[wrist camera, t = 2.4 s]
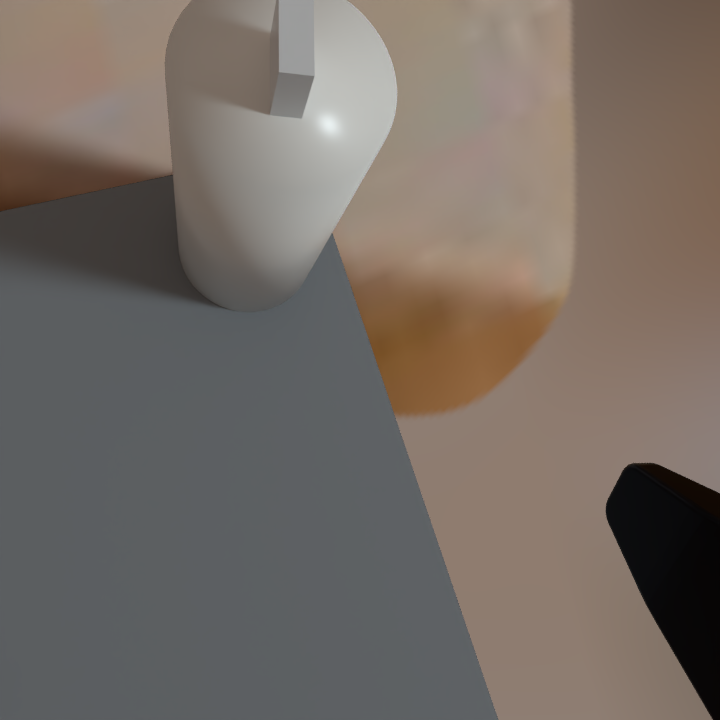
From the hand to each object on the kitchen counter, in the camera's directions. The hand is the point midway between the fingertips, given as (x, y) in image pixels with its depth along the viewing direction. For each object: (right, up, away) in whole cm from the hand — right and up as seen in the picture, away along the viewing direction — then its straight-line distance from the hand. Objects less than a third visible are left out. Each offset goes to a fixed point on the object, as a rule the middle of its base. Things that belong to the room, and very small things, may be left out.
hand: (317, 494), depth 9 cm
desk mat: (-6, -4, +12) cm, 14 cm away
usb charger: (-3, +6, +13) cm, 15 cm away
